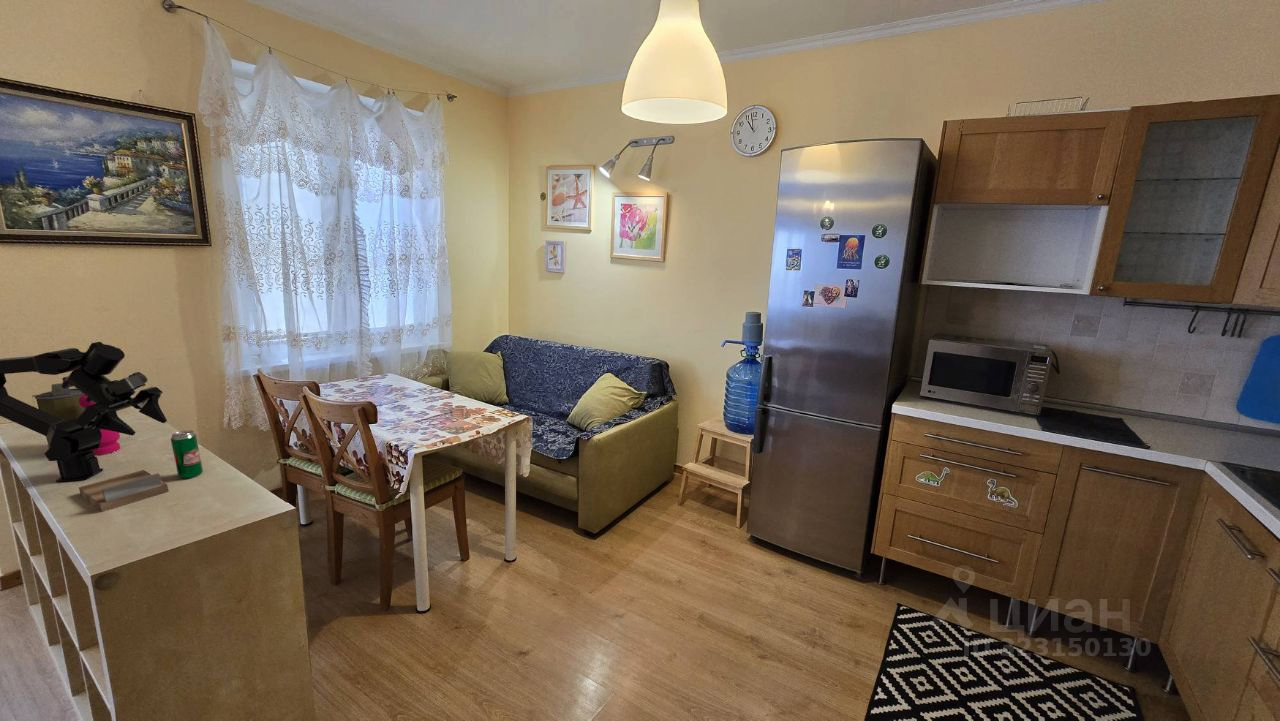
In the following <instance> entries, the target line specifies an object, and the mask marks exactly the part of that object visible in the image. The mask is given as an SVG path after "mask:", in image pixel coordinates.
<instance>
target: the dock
mask: <svg viewBox="0 0 1280 721" xmlns="http://www.w3.org/2000/svg"><path fill="white" fill-rule="evenodd" d="M78 490H79V494H80V496H82V497H83V498H84V499H85V498H86V499H85V500H86V501H87V502H89V503H90V502H91V505H93V506H94V505H95V506H96V508H97V509H98V510H99V509H100V510H101V511H100V510H99V511H100V512H102V511H104V512H106V511H105V510H107V511H109V510H108V509H110V510H113V509H116V507H117V508H119V506H120V507H123V506H126V505H129V504H132V503H135V502H138V501H142V500H146V499H149V498H153V497H155V496H159V495H161V494H165V493H168V492H169V491H170V490H169V487H168V483H167V482H164V481H163V480H161V475H160V473H158V472H157V473H154V474H151V473H150V472H148V471H147V470H144V469H141V470H137V471H134V472H131V473H126V474H123V475H119V476H115V477H111V478H108V479H104V480H101V481H97V482H93V483H90V484H86V485H81V486H79V487H78ZM158 494H159V495H158ZM122 505H123V506H122ZM95 506H94V507H95ZM112 508H113V509H112Z"/></svg>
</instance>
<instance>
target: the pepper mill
mask: <svg viewBox="0 0 1280 721" xmlns="http://www.w3.org/2000/svg"><path fill="white" fill-rule="evenodd" d="M86 399H87V396H86V395H85V394H83V395H82V396H81V397H80V398H79V404H80V406H82V407H83V408H86V407H87V406H90V405H93V404H96V403H95V402H94V401H93V402H90V403H88V402H87V401H85V400H86ZM100 431H101V433H102V438H101V443H100V448H99V449H95V450H93V451H94V454H95V456H103V455H102V454H105V455H109V454H112V453H111V452H113V453H115V452H114V451H116V452H117V450H118V451H120V450H121V446H120V445H121V444H120V442H117V441H118V440H119V439H120V437H121V433H119V432H114V431H109V430H104V429H100ZM119 449H120V450H119ZM108 453H109V454H108Z"/></svg>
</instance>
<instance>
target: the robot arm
mask: <svg viewBox="0 0 1280 721" xmlns="http://www.w3.org/2000/svg"><path fill="white" fill-rule="evenodd" d="M125 357H126V354H125V353H124V351H123V350H122V349H121V348H119V347H115V346H114V345H110V344H104V343H103V342H102V341H97V342H91V344H90V345H89V346H88V348H87V350H86V351H85V352H84V351H81V350H79V349H78V348H77V347H69V348H64V349H59V350H53V351H48V352H44V353H40V354H36V355H29V356H18V357H15V356H14V357H4V358H0V417H2V418H4V419H6V420H8V421H11V422H13V423H15V424H17V425H20V426H22V427H24V428H26V429H29V430H30V431H33V432H36V433H37V434H41V435H42V436H44V437H45V438H46V437H47V438H46V441H47V440H48V442H49V444H50V445H51V447H50V448H49V447H48V450H46V452H45V453H44V456H45V457H46V459H47V460H48V461H49V462H56V463H57V464H56V465H57V468H58V471H59V476H60V478H58V479H56V480H55V482H56V483H63V482H65V483H66V482H75V481H85V480H88V479H90V478H92V477H93V476H95V475H97V474H99V473H101V472H103V471H104V468H100V464H99V460H98V457H97V456H96V455H95V454H94V451H93V450H95V449H99V448H100V443H101V438H102V433H101V431H100V429H104V430H109V431H114V432H119V434H123V435H128V436H134V435H135V434H136V431H135V430H134V429H133V427H131V426H130V425H129V424H128V423H126V422H125V421H124V420H123V419H121V418H120V417H119V416H118V413H117V412H119V411H122V410H125V409H127V408H130V407H133V408H134V409H136V410H138V413H140V414H142V415H145V416H146V417H148V418H150V419H153V420H155V421H157V422H158V423H161V424H165V423H167V421H168V420H167V418H166V416H165V414H164V412H163V411H162V409H161V407H160V404H159V399H161V395H162V394H163V391H162V389H160V388H159V387H157V386H150V387H147V388H143V389H140V391H138V393H137V394H135V393H136V391H135V390H137V389H139V388H141V387H146V384H147V382H148V378H147V376H146V375H145V374H143V373H142V372H140V371H137V372H136V371H135V372H133V373H132V374H129V375H128V377H127V376H126V377H123V378H121V379H119V380H117V379H116V380H111V379H109V378H108V377H107V376H108V375H110V374H112V373H113V372H114V370H115V369H117V367H118V365H119V364H120V363H121V362H122V361H123V359H125ZM32 372H33V373H38V374H40V375H48V376H51V375H52V376H56V375H61V374H62V375H63V374H65V373H69V374H68V376H64V377H61V378H62V388H64V389H65V388H69V389H70V388H72V387H73V388H77V389H78V390H79V391H81V392H82V393H83V394H85V395H86V396H87V399H86V400H85V401H87V402H88V403H90V402H93V401H94V402H95V403H96V404H93V405H90V406H87V407H86V408H85V409H84V410H83V412H82V413H81V414H80V415H79V416H78V417H76V418H73V419H70V420H62V419H60V418H58V417H55V416H53V415H51V414H49V413H47V412H44V411H42V410H40V409H39V408H38V407H36V406H33V405H30V404H29V403H26V402H24V401H21V400H20V399H17V398H15V397H13V396H10V395H9V392H8V390H7V387H6V386H5V385H6V383H7V378H6V375H9V374H11V375H12V374H21V373H32ZM133 395H135V396H134V397H132V396H133ZM48 442H47V443H48Z"/></svg>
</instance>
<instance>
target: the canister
mask: <svg viewBox="0 0 1280 721" xmlns="http://www.w3.org/2000/svg"><path fill="white" fill-rule="evenodd" d="M62 383H63V382H62ZM62 383H61V382H60V383H53V384H51V391H46V392H42V393H39V394H35V395H34V394H33V395H32V396H31V397H32V399H35V400H36V404H37V408H38V409H40V410H42V411H44V412H47V413H49V414H51V415H53V416H55V417H58V418H60V419H62V420H70V419H73V418H76V417H78V416H79V415H80V414H81V413H82V412H83V410H84V409H85V408H83V407H82V406H80V404H79V398H80V397H81V396H82V395H83V393H82V392H81V391H79V390H78V389H77V388H75V387H73V388H70V387H69V388H65V389H64V388H62ZM32 402H33V403H34V400H32ZM33 405H34V406H33V407H36V406H35V404H33ZM45 438H46V441H47V446H48V449H49V448H50V447H51V445H50V444H49V442H48V440H47V437H46V436H45Z"/></svg>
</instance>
